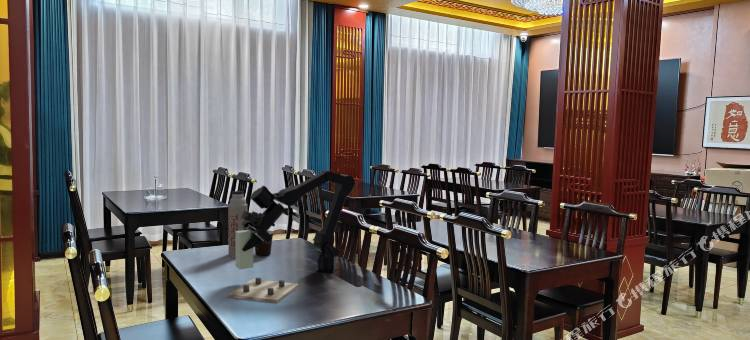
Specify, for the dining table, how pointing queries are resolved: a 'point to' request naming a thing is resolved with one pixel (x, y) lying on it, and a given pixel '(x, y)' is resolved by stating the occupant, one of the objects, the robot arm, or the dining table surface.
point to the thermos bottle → (235, 219)
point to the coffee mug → (264, 247)
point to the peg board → (263, 290)
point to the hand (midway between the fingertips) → (240, 249)
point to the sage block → (242, 258)
